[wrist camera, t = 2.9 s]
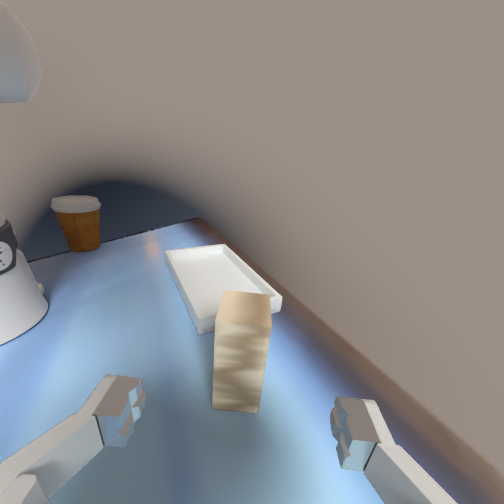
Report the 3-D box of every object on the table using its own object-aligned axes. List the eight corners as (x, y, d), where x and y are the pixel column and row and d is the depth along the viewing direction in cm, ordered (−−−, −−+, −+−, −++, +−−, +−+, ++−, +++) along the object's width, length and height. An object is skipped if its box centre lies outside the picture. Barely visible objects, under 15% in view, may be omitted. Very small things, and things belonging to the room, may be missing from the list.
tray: (165, 262, 55) (164, 250, 54) (224, 254, 63) (224, 243, 61) (198, 335, 35) (198, 319, 34) (280, 311, 42) (282, 297, 41)
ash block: (212, 408, 25) (215, 320, 21) (219, 369, 30) (223, 289, 25) (257, 413, 25) (271, 326, 21) (258, 373, 30) (270, 294, 25)
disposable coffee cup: (81, 238, 64) (71, 193, 59) (115, 242, 63) (108, 197, 59) (51, 252, 55) (37, 200, 50) (90, 256, 55) (80, 205, 50)
